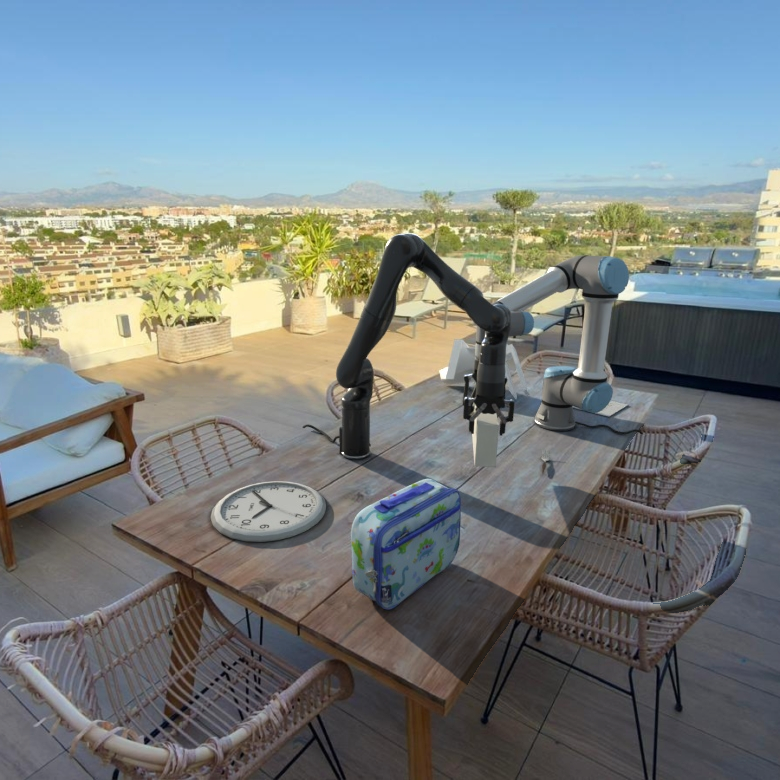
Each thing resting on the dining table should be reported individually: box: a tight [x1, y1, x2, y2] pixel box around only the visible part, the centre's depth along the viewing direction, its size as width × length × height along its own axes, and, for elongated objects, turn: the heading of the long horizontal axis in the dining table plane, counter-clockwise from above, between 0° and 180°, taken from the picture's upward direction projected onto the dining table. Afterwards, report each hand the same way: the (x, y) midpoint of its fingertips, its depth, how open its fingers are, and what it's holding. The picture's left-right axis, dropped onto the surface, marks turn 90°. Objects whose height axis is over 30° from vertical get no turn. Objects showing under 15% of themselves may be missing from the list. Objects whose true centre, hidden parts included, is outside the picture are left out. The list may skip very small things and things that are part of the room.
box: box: [471, 403, 500, 468], centre depth 158 cm, size 27×6×13 cm, turn 173°
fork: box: [541, 449, 551, 474], centre depth 169 cm, size 3×16×2 cm, turn 160°
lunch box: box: [350, 478, 462, 611], centre depth 110 cm, size 26×11×21 cm, turn 135°
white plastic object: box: [438, 338, 531, 400], centre depth 245 cm, size 37×45×31 cm
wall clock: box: [210, 480, 327, 543], centre depth 140 cm, size 30×2×30 cm
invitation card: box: [573, 400, 629, 418], centre depth 226 cm, size 21×1×15 cm
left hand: (486, 433), depth 148 cm, fingers open, 7 cm apart
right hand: (481, 426), depth 169 cm, fingers closed on box, 6 cm apart
